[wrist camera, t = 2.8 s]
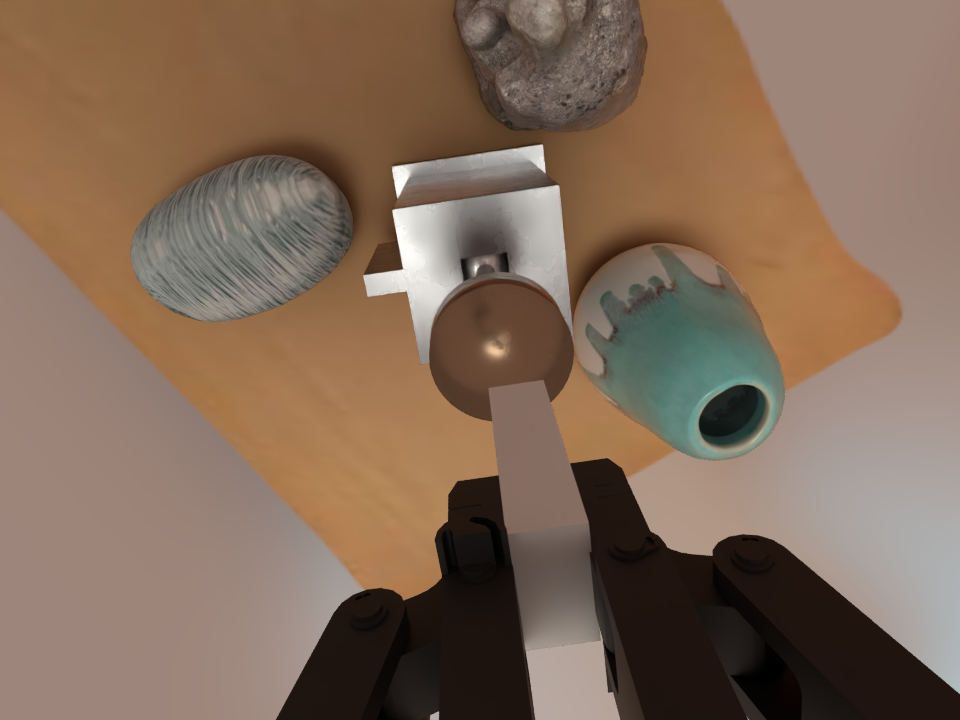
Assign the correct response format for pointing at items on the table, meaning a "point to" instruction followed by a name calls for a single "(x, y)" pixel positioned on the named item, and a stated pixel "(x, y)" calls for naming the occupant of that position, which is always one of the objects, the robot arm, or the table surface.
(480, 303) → the plunger
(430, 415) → the table surface
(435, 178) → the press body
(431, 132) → the table surface
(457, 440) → the table surface
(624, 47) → the figurine
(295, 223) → the striped grey egg shape
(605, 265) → the vase
